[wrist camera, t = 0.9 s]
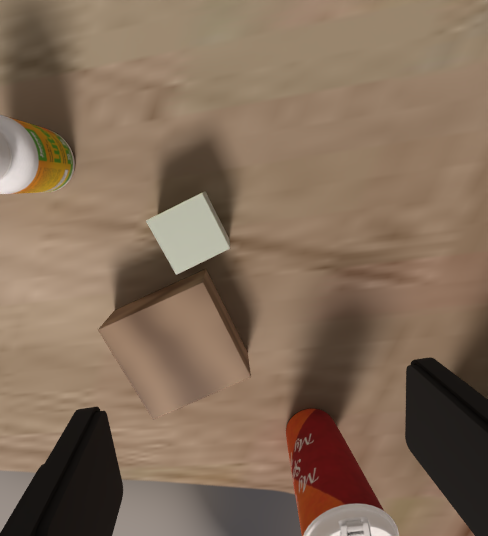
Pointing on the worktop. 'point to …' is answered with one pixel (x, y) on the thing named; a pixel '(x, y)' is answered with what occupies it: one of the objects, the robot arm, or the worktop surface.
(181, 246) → the sage block
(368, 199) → the worktop surface
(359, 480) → the paper cup
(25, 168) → the supplement bottle
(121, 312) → the walnut block
